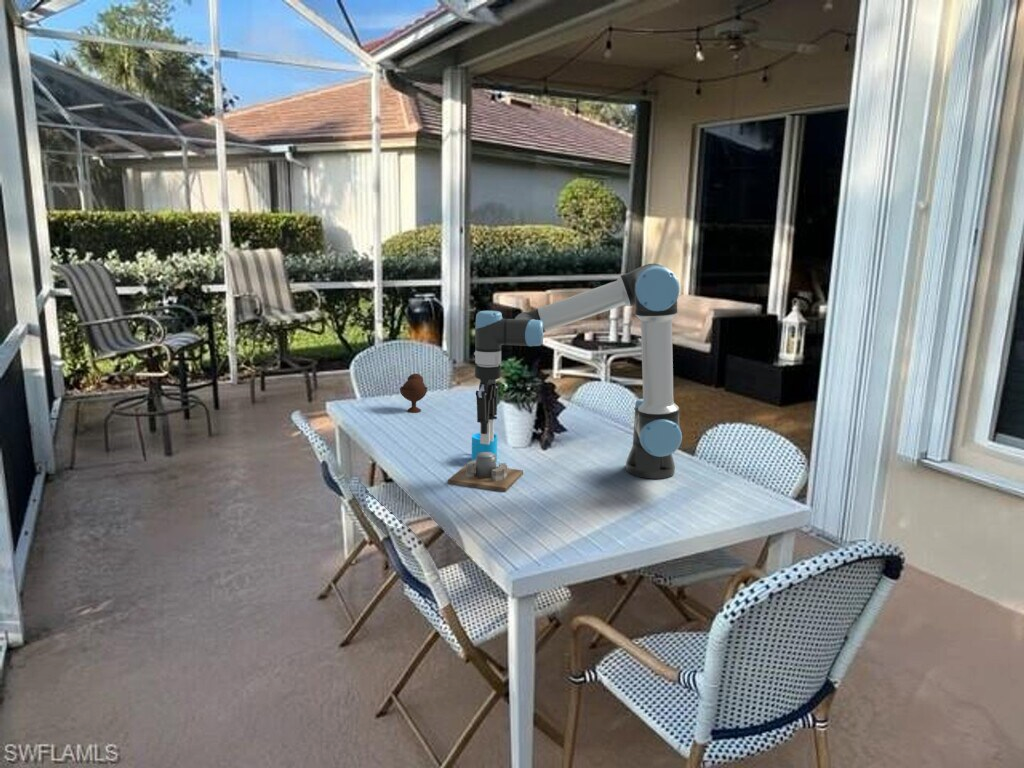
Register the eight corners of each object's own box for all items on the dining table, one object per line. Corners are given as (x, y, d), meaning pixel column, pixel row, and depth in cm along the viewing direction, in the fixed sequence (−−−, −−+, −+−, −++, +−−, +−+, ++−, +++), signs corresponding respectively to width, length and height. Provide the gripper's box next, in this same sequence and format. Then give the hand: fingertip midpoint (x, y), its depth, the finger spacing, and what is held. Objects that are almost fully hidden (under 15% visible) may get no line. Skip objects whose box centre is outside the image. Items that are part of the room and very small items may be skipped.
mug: (500, 462, 239) (501, 438, 237) (477, 465, 235) (477, 441, 233) (486, 451, 249) (486, 428, 247) (463, 454, 246) (463, 430, 244)
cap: (498, 472, 226) (499, 452, 224) (491, 479, 220) (492, 458, 219) (480, 470, 227) (480, 450, 226) (472, 476, 222) (473, 456, 220)
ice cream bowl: (397, 408, 300) (397, 372, 297) (425, 406, 304) (425, 370, 300) (402, 415, 290) (401, 377, 287) (430, 413, 294) (430, 376, 290)
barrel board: (523, 474, 229) (523, 461, 228) (505, 491, 214) (506, 477, 213) (468, 466, 234) (468, 453, 233) (448, 483, 219) (448, 469, 218)
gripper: (485, 358, 224) (484, 433, 230) (465, 368, 210) (465, 448, 215) (509, 360, 222) (507, 436, 227) (490, 370, 208) (489, 451, 213)
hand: (486, 441), depth 221 cm, fingers open, 3 cm apart
